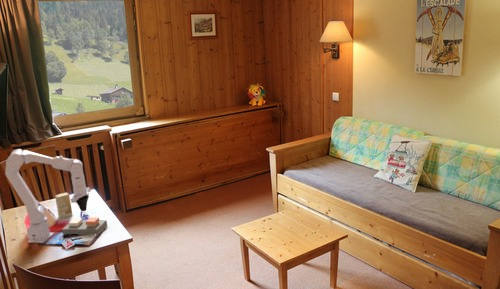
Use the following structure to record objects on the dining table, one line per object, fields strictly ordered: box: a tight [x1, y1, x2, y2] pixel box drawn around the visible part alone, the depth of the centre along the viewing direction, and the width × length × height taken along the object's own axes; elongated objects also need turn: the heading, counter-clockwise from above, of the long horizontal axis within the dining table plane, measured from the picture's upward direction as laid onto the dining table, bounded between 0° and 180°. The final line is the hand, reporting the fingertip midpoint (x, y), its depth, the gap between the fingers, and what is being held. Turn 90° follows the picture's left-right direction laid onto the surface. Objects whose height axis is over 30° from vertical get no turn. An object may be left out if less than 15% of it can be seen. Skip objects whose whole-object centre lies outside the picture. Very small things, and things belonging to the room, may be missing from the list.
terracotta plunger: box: [86, 217, 100, 227], centre depth 209 cm, size 5×5×5 cm
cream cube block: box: [68, 218, 83, 227], centre depth 211 cm, size 5×5×5 cm
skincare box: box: [54, 192, 73, 219], centre depth 227 cm, size 6×4×12 cm
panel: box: [61, 219, 108, 236], centre depth 210 cm, size 10×18×3 cm, turn 82°
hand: (83, 210), depth 209 cm, fingers closed
